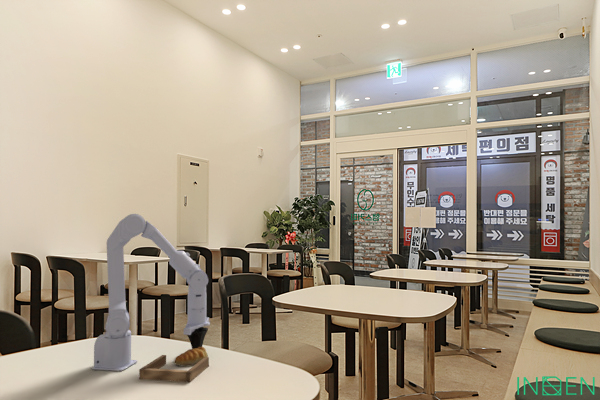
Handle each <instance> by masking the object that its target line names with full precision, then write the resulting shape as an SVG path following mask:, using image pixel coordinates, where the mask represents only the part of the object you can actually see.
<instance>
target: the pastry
mask: <svg viewBox="0 0 600 400" xmlns="http://www.w3.org/2000/svg"><path fill="white" fill-rule="evenodd" d="M208 355H209V354H208V352H207V350H206V348H205V347H203V346H202V347H198V348H194V349H192V348H189V349H187V350H185V352H183V353H180V354H179V355H178V356H176V357H175V358H174V361H173V363H174V364H175V365H176V366H177V365H178V366H180V367H181V366H182V367H187V366H192V365H193V366H194V365H196V364H197V363H198V362H199V361H201V360H202V359H203V358H204V357H209V356H208Z"/></svg>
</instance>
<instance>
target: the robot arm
mask: <svg viewBox="0 0 600 400" xmlns="http://www.w3.org/2000/svg"><path fill="white" fill-rule="evenodd" d="M140 234H141V237H142V238H145V239H148V240H151V241H152V242H153V243H154V244H155V245H156V246H157V247H158V248H159V249H160V250H161V251H163V253H164V254H165V255H166V256H167V257H168V259H169V266H171V268H173V269H174V271H176V272H177V273H178V274H179V276H180V277H182V278H183V279H185V281H186V284H188V286H187V287H188V288H187V290H188V291H187V292H188V293H187V322H186V325H185V327H184V328H183V336H187V337H188V339H189V342H190V346H191V349H194V348H198V347H203V344H204V340H205V337H206V335H207V333H208V330H209V328H208V326H210V325H211V321H210V317H208V316H207V310H208V309H207V298H208V297H207V293H208V292H207V286H208V283H209V277H208V275H207V273H206V272H205V271H204V270H203V269H202V268H201V265H200V264H199V263H198V264H197V263H196V262H195V261H194V260H193V258H191V257H190V256H191V254H190V253H189V252H188V251H187V252H185V251H184V250H177V248H176V247H174V246H173V244H172V243H171V242H170V241H169V240H168V239H167V238H166V237H165V235H164V234H162V232H161V231H160V230H159V229H158V228H157V227H156V226H154V225H153V224H152V223H151V222H149V221H148V220H145V218H144V217H143V216H142V215H141V214H138V213H130V214H128V215H127V216H125V217H124V218H122V219H121V220H120V221H119V222H118V223H117V225H116V226H115V228H114V229H113V230H112V232H111V234H110V235H109V236H108V238H107V239H106V262H107V265H106V266H107V267H106V269H107V287H108V289H107V290H108V314H107V318H106V323H105V332H104V333H103V334H100V335H99V336H97V338H96V340H94V341H95V342H94V345H93V366H92V368H91V370H95V371H96V370H100V371H115V372H122V371H124V370H126V369H128V368H129V367H131V366H133V365H135V364H136V363H138V360H137V359H136V360H135V359H132V331H131V330H130V327H131V326H130V325H131V322H130V320H131V318H130V313H129V312H128V310H127V306H126V304H127V302H126V281H125V280H126V276H125V257H124V255H125V254H124V253H125V252H124V251H125V250H124V247H125V246H126V245H127V244H128V243H129V242H130V241H131V240H132V239H134V238H135V237H138V236H139V235H140Z"/></svg>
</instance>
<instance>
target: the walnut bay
mask: <svg viewBox="0 0 600 400" xmlns="http://www.w3.org/2000/svg"><path fill="white" fill-rule="evenodd" d="M166 364H167V354H161V355H160V356H159V357H157V358H156V359H154V360H152V361H151V362H149V363H146V365H144V366H142V367H141V368H139V370H138V371H139V373H138V376H139V377H138V380H144V381H145V380H148V381H163V382H164V381H166V382H179V383H181V382H182V383H191V382H192V381H194V380H195V379H196V378H197V377H198V376H199V375H200V374H202V373H203V372H204V371H205V370H206V369H208V367H209V365H210V357H209V356H208V357H204V358H203V359H202V360H201V361H199V362H198V363H197V364H196V365H193V366H192V367H191V368H189V369H188V370H187V369H186V370H184V369H183V370H182V369H169V368H168V369H166V368H165V369H164V368H162V367H164V366H165V365H166Z"/></svg>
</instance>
